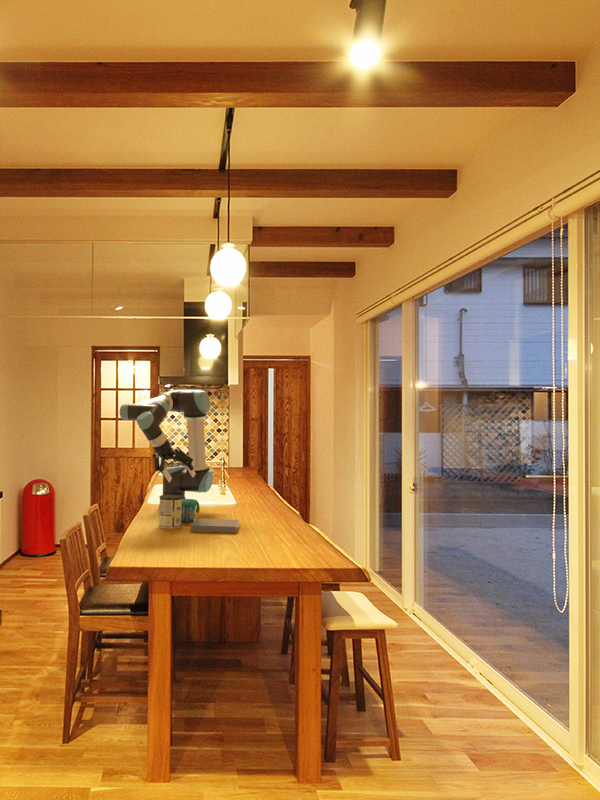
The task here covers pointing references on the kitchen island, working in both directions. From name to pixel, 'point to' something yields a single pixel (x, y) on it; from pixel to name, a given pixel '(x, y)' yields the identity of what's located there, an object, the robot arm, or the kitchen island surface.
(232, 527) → the slate plinth
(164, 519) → the coffee can
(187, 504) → the snack cup
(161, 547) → the kitchen island surface
